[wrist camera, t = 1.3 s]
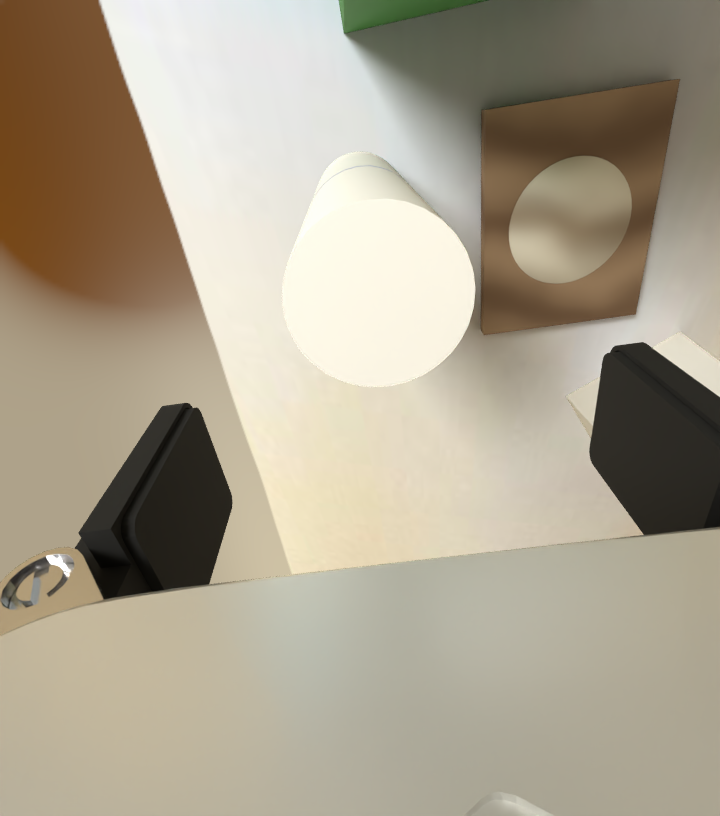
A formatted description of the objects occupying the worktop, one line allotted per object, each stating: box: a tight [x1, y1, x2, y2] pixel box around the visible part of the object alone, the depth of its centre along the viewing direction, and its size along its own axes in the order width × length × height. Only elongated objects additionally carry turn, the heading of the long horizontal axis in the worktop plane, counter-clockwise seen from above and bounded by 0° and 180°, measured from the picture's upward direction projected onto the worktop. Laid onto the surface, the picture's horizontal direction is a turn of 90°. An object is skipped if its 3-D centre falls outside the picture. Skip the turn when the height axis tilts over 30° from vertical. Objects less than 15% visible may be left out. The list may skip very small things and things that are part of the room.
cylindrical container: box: [282, 152, 475, 387], centre depth 28 cm, size 7×7×25 cm
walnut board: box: [481, 79, 680, 335], centre depth 39 cm, size 18×14×1 cm
